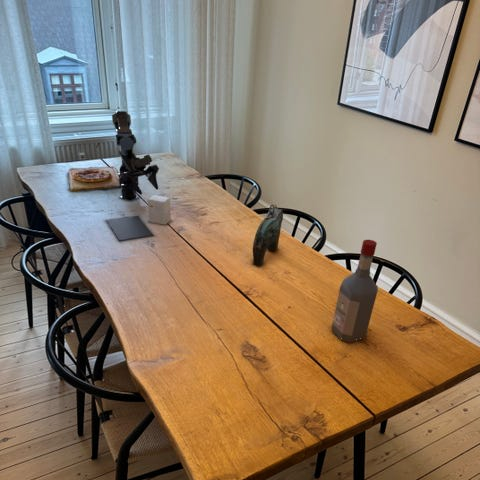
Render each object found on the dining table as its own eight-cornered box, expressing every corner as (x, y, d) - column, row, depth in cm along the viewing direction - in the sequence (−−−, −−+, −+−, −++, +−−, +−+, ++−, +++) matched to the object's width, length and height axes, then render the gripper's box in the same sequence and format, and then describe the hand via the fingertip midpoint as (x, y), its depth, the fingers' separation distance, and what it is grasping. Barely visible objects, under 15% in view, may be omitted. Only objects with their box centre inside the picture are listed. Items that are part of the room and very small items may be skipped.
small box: (171, 220, 199) (170, 197, 193) (165, 225, 195) (164, 201, 189) (155, 217, 201) (153, 194, 195) (149, 222, 197) (147, 198, 191)
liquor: (344, 345, 131) (366, 252, 114) (327, 327, 138) (345, 237, 121) (369, 338, 134) (394, 247, 117) (352, 322, 141) (373, 233, 124)
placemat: (106, 220, 195) (106, 219, 195) (138, 216, 201) (137, 215, 201) (119, 241, 180) (119, 240, 179) (153, 236, 185) (153, 235, 185)
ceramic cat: (269, 244, 184) (273, 197, 173) (283, 248, 182) (289, 200, 171) (248, 264, 169) (251, 213, 158) (264, 268, 167) (268, 217, 156)
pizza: (64, 171, 247) (62, 164, 245) (116, 168, 256) (115, 161, 254) (69, 193, 221) (68, 185, 219) (127, 188, 230) (126, 181, 228)
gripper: (120, 152, 181) (141, 186, 181) (155, 145, 193) (174, 176, 194) (110, 168, 189) (129, 200, 190) (143, 160, 201) (162, 190, 202)
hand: (149, 191), depth 194 cm, fingers open, 9 cm apart
